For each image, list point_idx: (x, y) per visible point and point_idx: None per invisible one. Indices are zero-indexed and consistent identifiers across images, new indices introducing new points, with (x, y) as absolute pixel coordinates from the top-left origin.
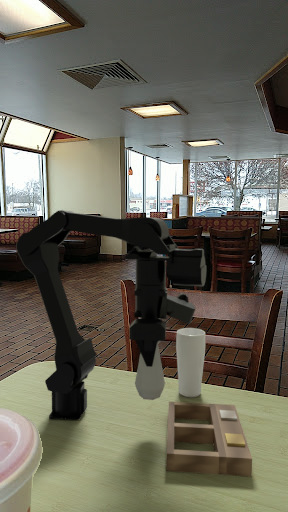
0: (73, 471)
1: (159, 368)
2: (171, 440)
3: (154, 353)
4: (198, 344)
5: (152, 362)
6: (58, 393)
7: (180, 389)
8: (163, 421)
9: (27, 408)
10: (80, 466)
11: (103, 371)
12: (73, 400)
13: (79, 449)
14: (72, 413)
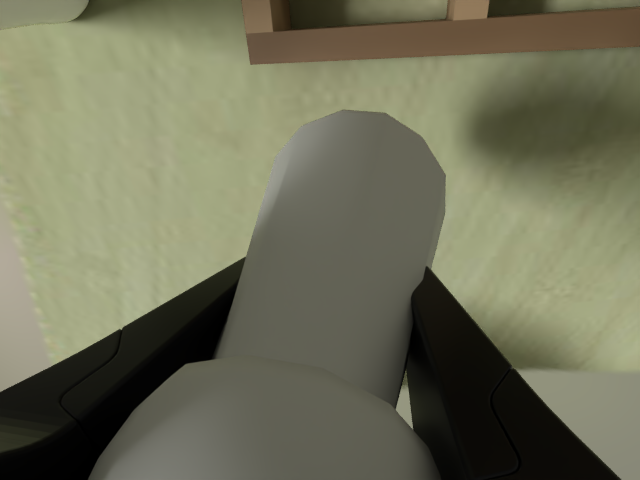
0: (607, 312)
1: (385, 193)
2: (624, 24)
3: (498, 353)
4: None
5: (446, 288)
6: None
7: (69, 11)
8: (320, 76)
9: None
10: (586, 300)
11: (56, 299)
12: None
13: (501, 311)
14: None
